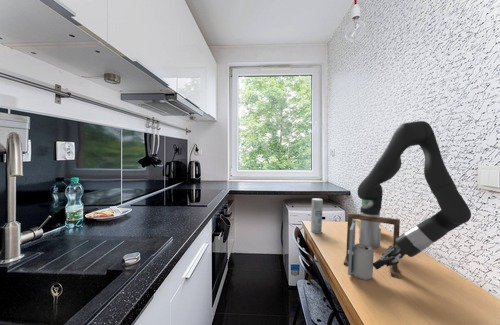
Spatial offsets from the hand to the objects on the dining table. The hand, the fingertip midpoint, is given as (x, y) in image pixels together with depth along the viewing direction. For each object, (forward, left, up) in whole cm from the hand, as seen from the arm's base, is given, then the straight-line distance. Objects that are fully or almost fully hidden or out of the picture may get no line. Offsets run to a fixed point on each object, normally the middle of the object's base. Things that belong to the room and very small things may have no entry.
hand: (374, 266), depth 91 cm
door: (+6, -7, -4) cm, 10 cm away
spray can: (+6, -54, -5) cm, 54 cm away
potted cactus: (-26, -54, -5) cm, 60 cm away
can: (+4, -2, -5) cm, 7 cm away
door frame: (-4, -9, -5) cm, 11 cm away
